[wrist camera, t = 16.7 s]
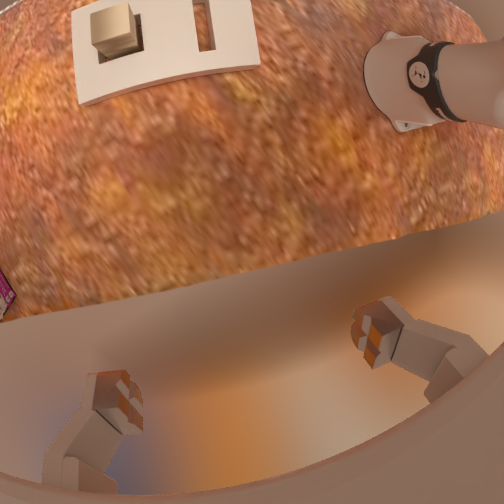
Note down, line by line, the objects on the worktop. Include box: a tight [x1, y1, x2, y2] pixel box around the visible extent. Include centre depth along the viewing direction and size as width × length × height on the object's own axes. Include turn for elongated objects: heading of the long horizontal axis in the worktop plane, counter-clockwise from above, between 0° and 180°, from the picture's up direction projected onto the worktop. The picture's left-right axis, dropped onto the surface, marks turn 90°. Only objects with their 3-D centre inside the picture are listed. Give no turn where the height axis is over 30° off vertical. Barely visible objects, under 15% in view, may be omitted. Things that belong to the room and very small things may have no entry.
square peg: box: [90, 2, 142, 60], centre depth 21 cm, size 4×4×10 cm
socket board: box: [72, 0, 260, 106], centre depth 24 cm, size 22×14×4 cm, turn 98°
